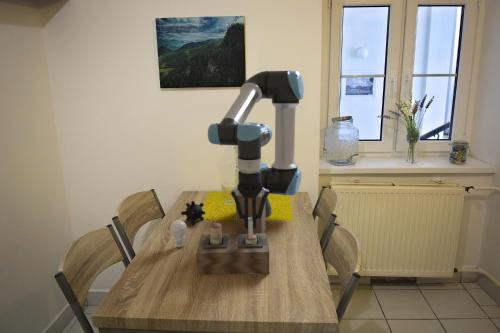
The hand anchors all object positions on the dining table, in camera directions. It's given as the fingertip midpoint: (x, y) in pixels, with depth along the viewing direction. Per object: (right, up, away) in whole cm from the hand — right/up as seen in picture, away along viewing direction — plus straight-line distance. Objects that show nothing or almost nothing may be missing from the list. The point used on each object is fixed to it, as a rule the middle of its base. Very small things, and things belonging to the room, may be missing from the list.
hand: (250, 236), depth 128 cm
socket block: (-6, -10, +3) cm, 12 cm away
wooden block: (0, -5, +21) cm, 22 cm away
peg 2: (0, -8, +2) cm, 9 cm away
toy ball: (-25, -1, +39) cm, 46 cm away
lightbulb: (-27, -7, +15) cm, 32 cm away
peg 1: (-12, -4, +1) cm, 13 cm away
